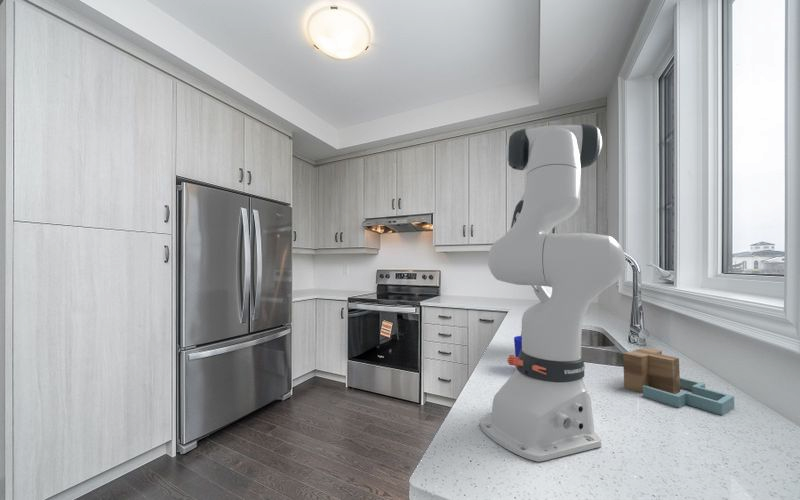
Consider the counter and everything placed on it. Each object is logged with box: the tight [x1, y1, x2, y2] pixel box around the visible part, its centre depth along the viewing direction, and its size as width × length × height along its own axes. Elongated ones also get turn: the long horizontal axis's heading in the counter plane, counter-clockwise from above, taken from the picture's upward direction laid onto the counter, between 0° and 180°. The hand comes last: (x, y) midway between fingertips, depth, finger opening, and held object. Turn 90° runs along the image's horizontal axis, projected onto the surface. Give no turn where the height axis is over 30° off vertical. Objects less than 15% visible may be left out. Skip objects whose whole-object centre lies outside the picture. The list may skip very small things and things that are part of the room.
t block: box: [622, 347, 681, 394], centre depth 80 cm, size 12×9×9 cm
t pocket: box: [642, 376, 735, 416], centre depth 74 cm, size 16×13×2 cm
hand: (576, 312), depth 99 cm, fingers open, 8 cm apart
